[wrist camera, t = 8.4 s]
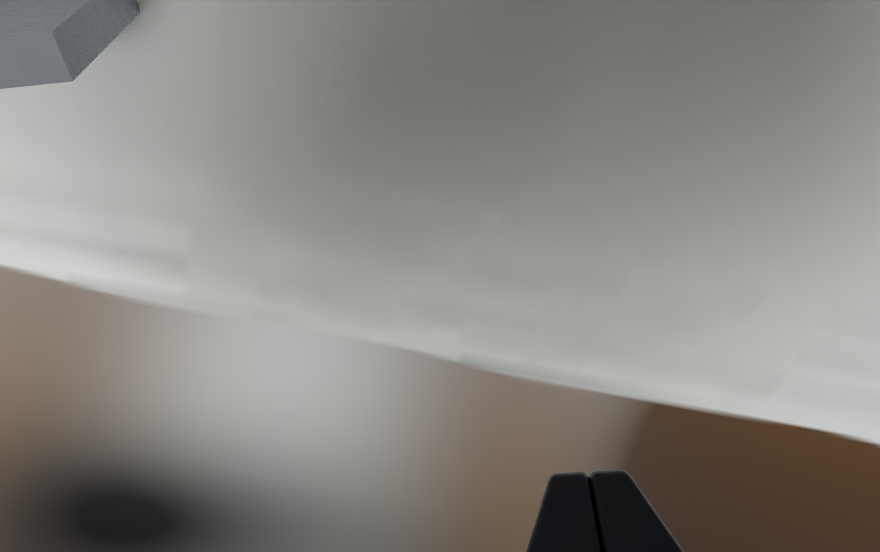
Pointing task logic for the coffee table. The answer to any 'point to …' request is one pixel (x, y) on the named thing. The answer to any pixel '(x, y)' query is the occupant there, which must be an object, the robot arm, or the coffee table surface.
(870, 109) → the coffee table surface
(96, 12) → the grey u-shaped bracket
